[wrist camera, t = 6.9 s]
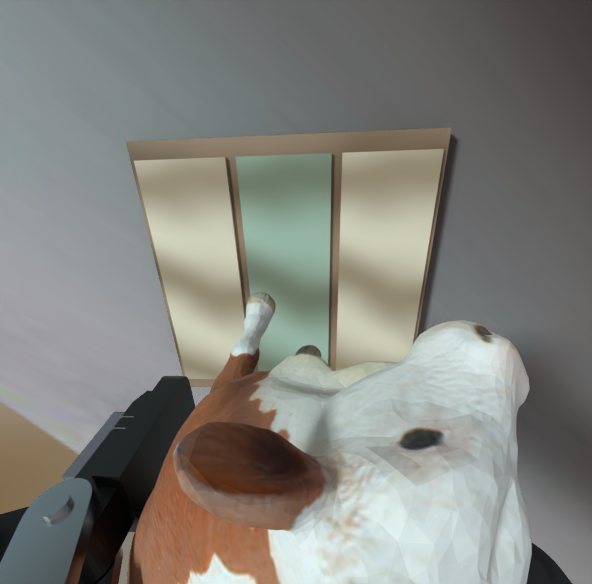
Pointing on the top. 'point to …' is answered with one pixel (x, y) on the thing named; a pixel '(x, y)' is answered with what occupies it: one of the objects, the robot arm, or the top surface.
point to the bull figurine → (346, 469)
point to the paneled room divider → (293, 241)
